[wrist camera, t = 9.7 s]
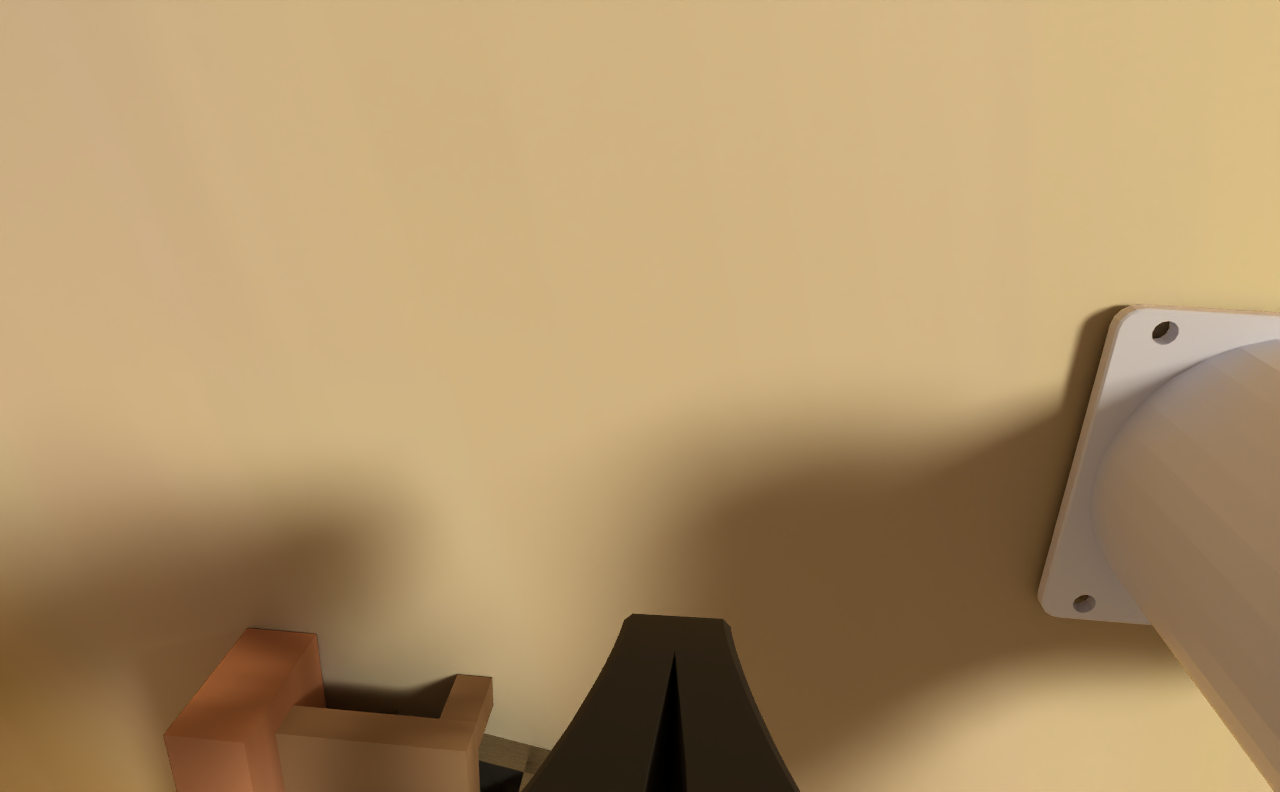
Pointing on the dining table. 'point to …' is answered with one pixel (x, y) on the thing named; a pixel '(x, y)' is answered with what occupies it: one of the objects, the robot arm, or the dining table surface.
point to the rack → (316, 730)
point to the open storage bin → (506, 763)
